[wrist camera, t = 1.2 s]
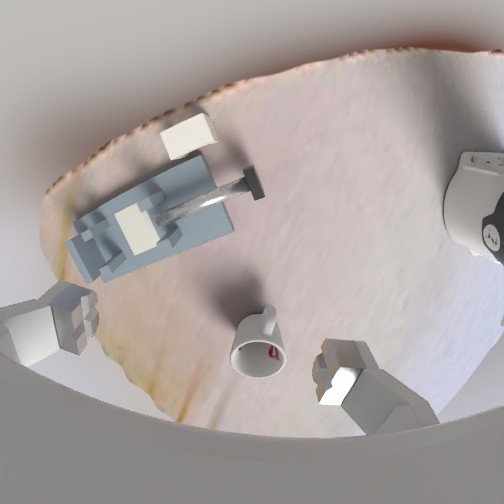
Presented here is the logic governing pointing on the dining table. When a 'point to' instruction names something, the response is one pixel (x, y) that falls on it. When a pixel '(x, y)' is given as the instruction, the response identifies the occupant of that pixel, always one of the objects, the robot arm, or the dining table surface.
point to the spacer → (189, 136)
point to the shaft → (214, 197)
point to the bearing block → (147, 224)
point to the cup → (258, 346)
